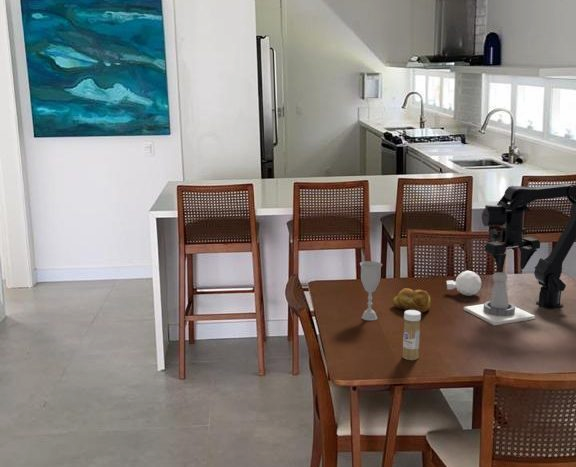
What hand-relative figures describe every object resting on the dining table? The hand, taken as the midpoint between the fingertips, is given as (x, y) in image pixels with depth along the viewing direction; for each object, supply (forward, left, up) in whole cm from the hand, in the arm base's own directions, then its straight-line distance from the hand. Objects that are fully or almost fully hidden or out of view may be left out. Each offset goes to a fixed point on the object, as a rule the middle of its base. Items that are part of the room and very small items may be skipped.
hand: (511, 270), depth 241 cm
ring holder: (+8, +5, -13) cm, 16 cm away
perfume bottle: (+6, -17, -13) cm, 23 cm away
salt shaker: (+8, +5, -12) cm, 15 cm away
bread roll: (+31, -11, -13) cm, 35 cm away
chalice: (+49, -8, -13) cm, 51 cm away
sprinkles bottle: (+54, +25, -13) cm, 60 cm away
